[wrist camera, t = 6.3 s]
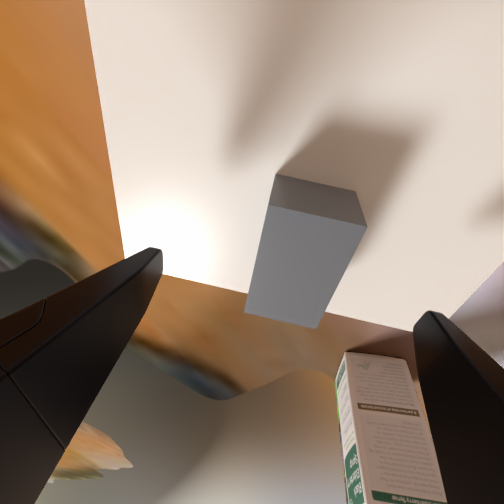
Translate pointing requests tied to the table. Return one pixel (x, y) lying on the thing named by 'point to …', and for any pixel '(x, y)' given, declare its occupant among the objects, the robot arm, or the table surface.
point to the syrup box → (384, 434)
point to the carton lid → (309, 148)
